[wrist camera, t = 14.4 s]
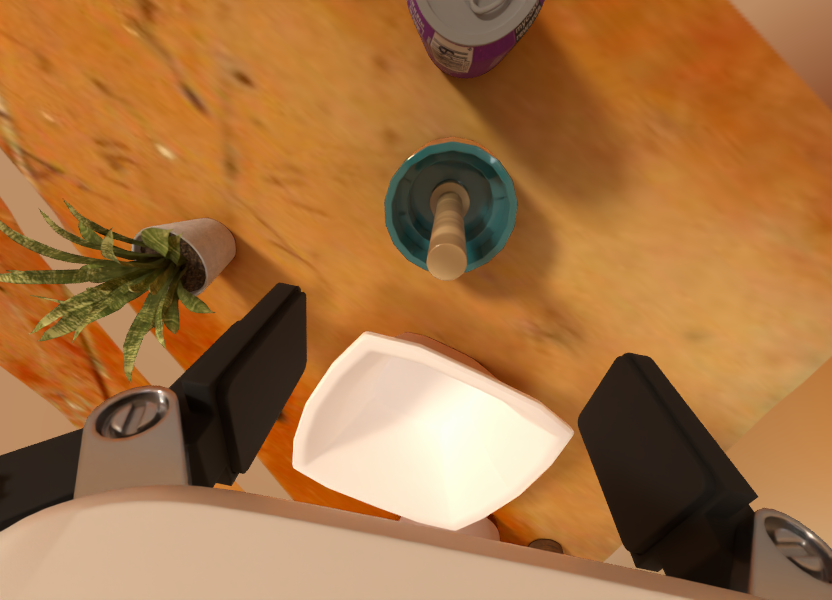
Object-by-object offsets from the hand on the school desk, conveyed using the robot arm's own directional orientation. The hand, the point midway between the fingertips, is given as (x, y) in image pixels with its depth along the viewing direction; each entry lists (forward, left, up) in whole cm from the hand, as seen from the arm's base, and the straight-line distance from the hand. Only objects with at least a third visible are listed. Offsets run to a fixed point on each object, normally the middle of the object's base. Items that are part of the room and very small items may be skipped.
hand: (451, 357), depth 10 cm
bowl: (+24, +2, -24) cm, 34 cm away
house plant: (+9, -24, -24) cm, 35 cm away
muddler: (+1, 0, -23) cm, 23 cm away
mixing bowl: (+1, 0, -24) cm, 24 cm away
